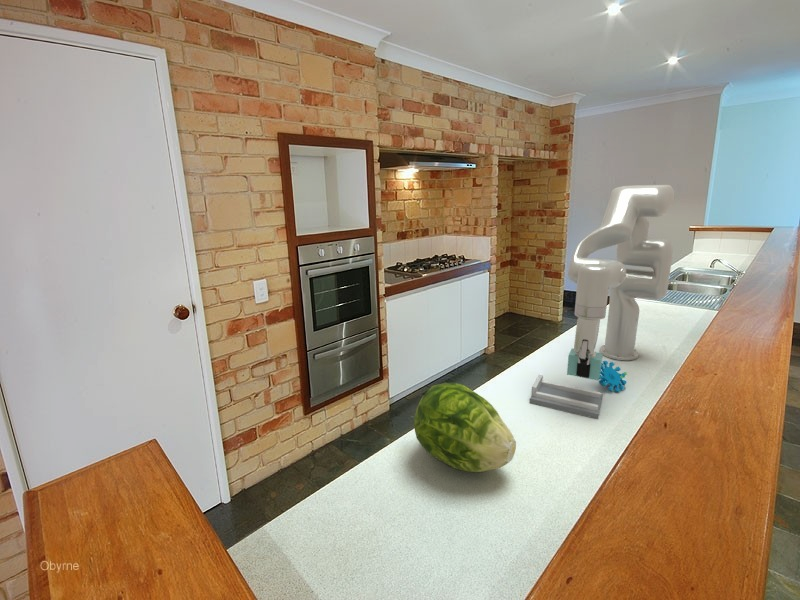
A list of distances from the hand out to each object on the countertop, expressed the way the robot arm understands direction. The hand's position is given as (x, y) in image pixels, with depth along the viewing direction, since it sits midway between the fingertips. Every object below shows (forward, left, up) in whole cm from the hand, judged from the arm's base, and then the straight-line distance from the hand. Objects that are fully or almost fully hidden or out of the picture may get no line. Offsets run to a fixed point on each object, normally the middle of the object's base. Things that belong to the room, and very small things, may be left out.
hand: (584, 371), depth 111 cm
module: (0, 0, -1) cm, 1 cm away
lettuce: (+39, -20, -11) cm, 45 cm away
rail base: (0, -4, -10) cm, 11 cm away
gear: (-15, +7, -11) cm, 20 cm away
